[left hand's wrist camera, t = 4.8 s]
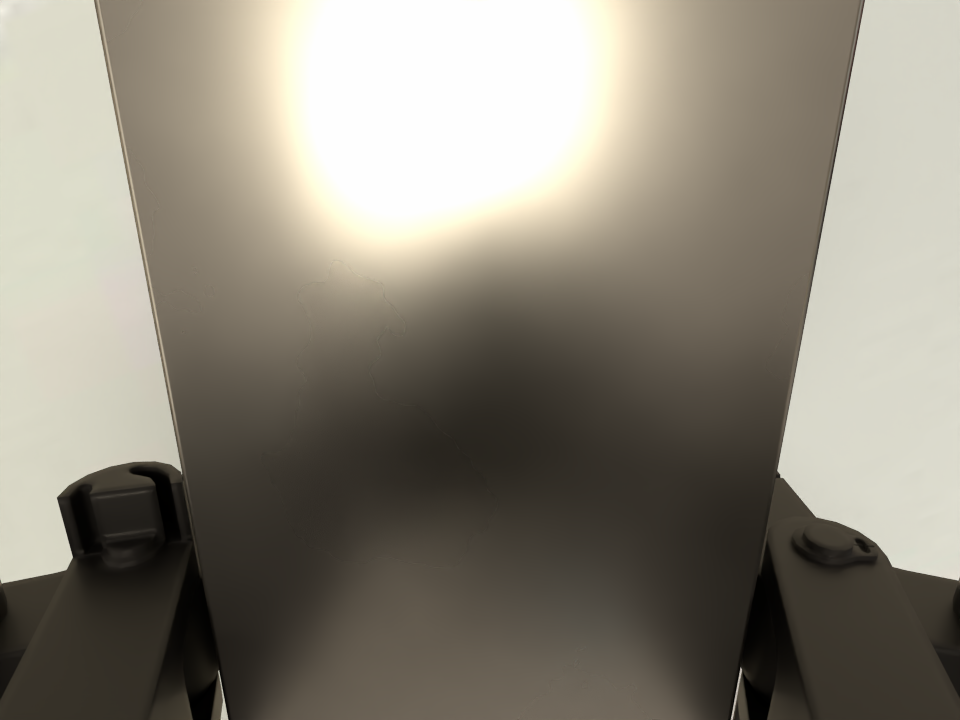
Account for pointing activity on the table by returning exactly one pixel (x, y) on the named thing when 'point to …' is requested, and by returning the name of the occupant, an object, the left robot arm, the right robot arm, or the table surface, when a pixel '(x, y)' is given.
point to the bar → (479, 334)
